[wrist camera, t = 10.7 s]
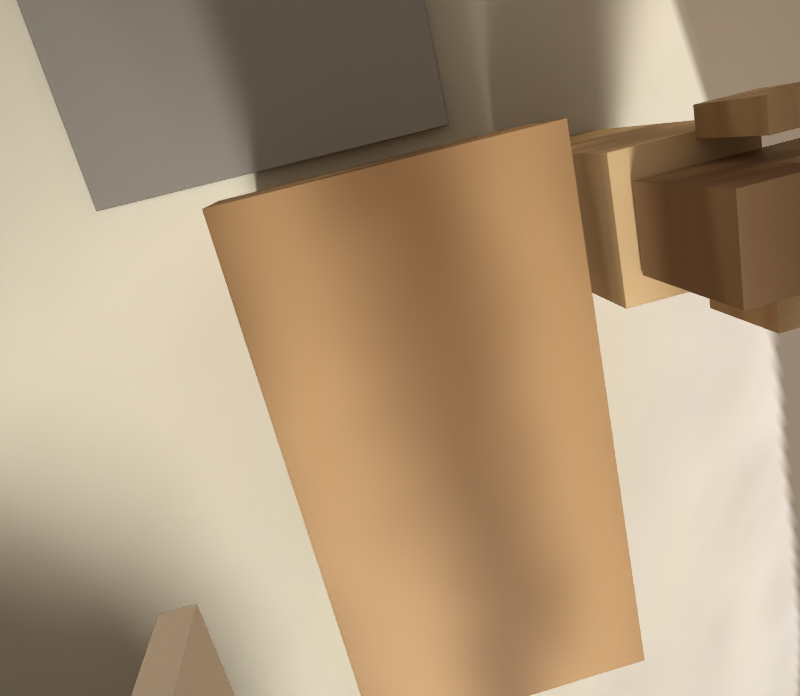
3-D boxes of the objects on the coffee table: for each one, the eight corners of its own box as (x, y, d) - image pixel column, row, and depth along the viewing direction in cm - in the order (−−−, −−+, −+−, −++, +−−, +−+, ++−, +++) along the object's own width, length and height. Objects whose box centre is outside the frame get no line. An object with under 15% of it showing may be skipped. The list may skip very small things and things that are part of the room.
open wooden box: (364, 556, 29) (401, 820, 17) (256, 197, 24) (210, 235, 12) (641, 476, 29) (852, 677, 18) (594, 113, 24) (844, 75, 13)
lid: (367, 670, 23) (376, 742, 20) (219, 201, 18) (202, 209, 15) (603, 599, 24) (644, 660, 21) (526, 124, 18) (566, 118, 16)
